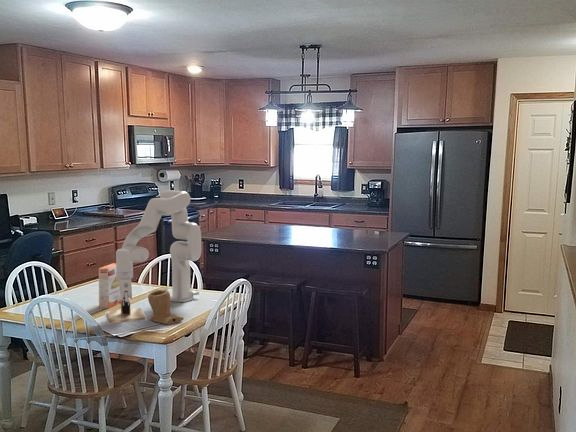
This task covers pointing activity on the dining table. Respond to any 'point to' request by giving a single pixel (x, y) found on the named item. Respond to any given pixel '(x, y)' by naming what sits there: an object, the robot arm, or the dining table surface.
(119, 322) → the mat
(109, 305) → the cracker box
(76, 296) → the dining table surface
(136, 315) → the lid
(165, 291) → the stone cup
